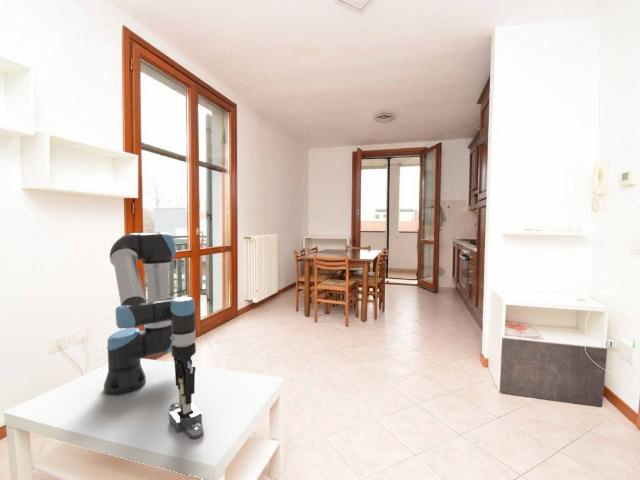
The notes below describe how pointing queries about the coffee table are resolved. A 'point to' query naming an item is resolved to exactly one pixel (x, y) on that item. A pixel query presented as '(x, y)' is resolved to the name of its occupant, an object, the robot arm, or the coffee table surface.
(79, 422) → the coffee table surface
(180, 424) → the chain ends
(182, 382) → the pin
